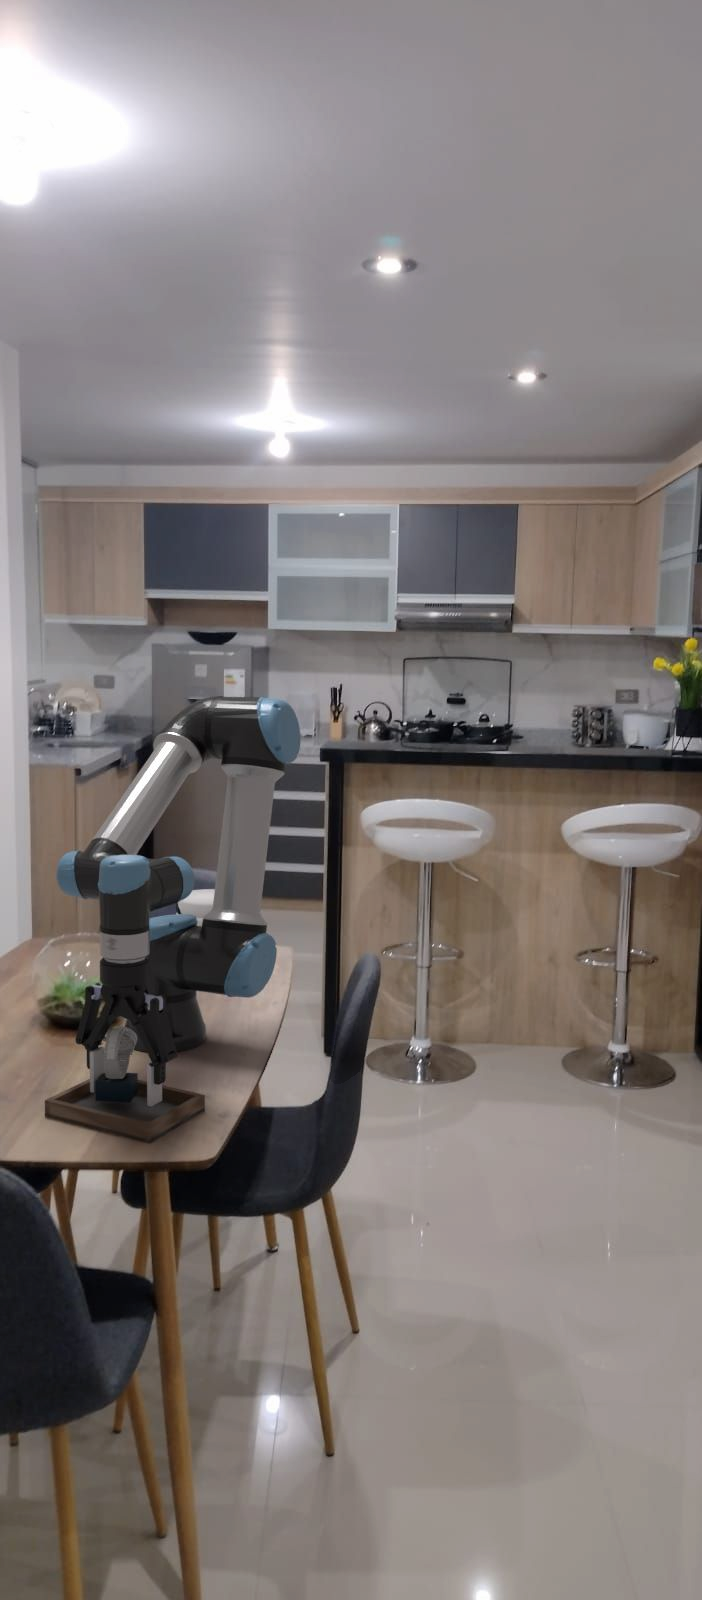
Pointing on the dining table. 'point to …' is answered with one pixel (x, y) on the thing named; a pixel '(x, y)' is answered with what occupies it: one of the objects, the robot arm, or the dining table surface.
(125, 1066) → the watch
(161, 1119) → the valet tray
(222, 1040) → the dining table surface
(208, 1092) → the dining table surface
